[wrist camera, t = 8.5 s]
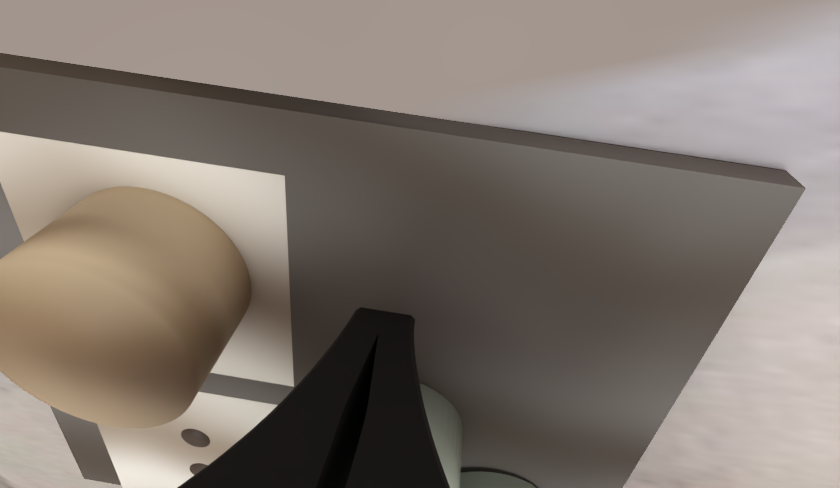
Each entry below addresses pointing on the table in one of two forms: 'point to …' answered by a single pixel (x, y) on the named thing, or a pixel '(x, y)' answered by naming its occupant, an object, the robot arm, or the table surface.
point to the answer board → (407, 259)
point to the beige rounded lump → (121, 307)
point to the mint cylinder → (445, 432)
